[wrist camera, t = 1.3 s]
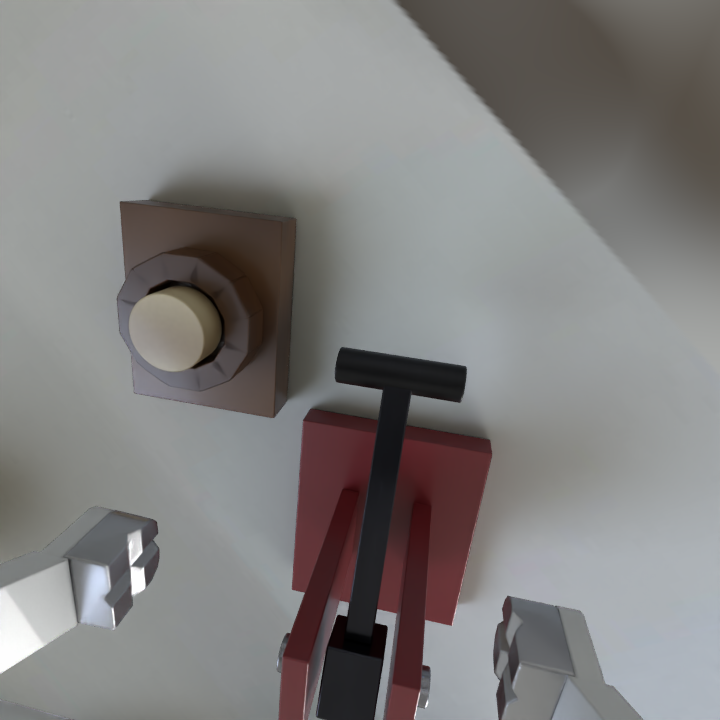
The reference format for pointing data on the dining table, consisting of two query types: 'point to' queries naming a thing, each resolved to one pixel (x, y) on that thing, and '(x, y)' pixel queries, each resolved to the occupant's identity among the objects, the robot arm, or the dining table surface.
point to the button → (175, 328)
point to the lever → (376, 525)
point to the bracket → (403, 556)
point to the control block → (215, 299)
